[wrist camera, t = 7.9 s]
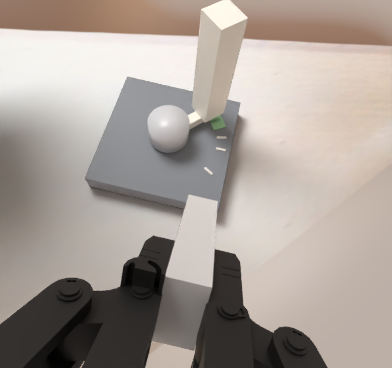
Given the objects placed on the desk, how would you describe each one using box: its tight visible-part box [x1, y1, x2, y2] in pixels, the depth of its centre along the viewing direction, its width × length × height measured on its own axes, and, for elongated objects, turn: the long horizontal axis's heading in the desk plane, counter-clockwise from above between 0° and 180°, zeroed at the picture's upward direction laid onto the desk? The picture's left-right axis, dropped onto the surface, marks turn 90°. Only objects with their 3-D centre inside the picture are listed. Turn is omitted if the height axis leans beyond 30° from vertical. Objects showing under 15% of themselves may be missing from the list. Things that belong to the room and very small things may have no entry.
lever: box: [147, 0, 248, 153], centre depth 27 cm, size 8×4×12 cm, turn 125°
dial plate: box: [85, 77, 240, 212], centre depth 33 cm, size 13×13×2 cm
